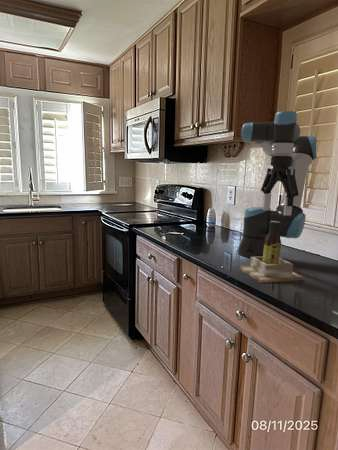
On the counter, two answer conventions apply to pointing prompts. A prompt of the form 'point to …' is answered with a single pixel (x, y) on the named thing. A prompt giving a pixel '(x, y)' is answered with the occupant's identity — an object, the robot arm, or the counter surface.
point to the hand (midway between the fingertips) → (276, 212)
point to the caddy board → (270, 271)
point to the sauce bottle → (272, 244)
